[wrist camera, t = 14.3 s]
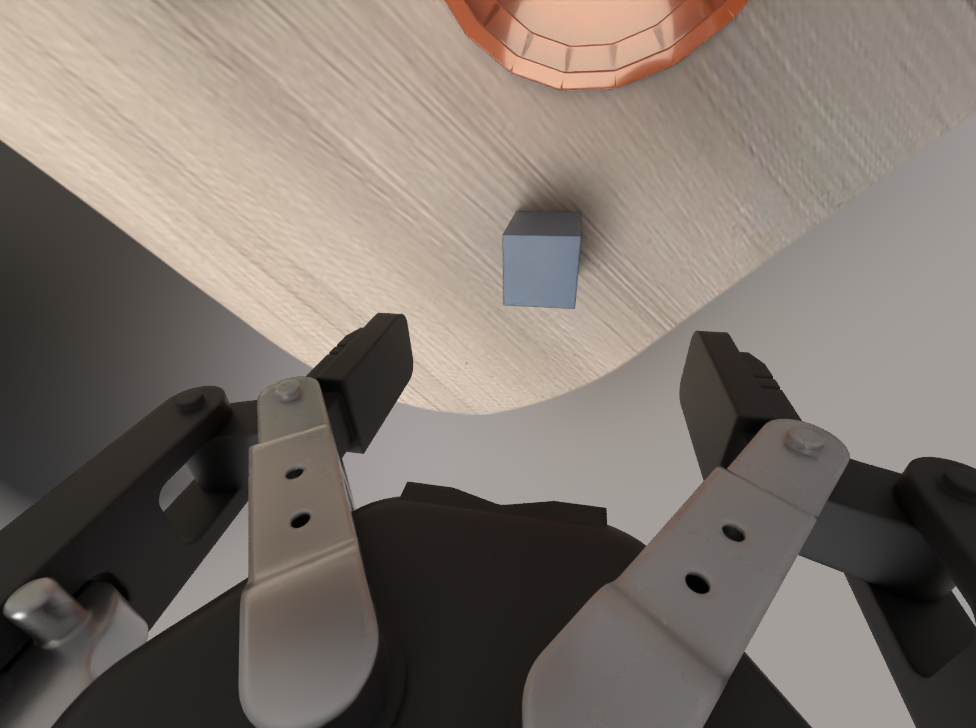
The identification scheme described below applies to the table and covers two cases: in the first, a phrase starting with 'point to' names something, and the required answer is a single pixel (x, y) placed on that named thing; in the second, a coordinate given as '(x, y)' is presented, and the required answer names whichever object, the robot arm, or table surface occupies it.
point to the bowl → (591, 36)
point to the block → (541, 259)
